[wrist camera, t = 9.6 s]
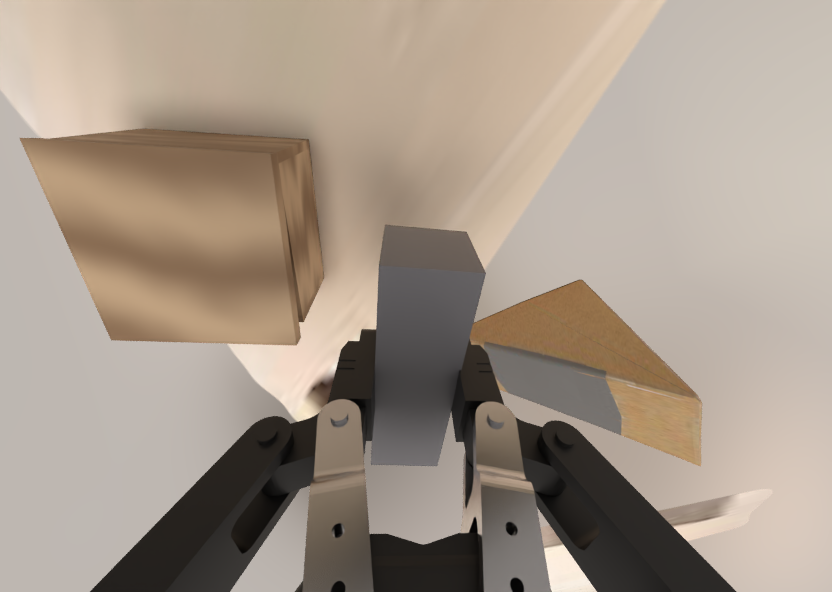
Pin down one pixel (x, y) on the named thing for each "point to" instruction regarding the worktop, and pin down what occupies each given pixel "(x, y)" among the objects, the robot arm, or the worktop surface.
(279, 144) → the carton
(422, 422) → the gray rectangular block
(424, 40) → the worktop surface
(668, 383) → the sandwich container
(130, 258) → the lid
